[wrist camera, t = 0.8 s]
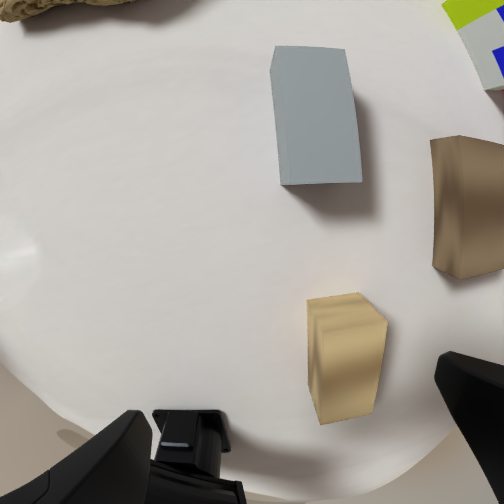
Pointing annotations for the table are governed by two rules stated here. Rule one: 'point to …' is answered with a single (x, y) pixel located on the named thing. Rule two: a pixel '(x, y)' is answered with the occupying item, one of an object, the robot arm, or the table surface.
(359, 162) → the grey block
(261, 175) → the table surface
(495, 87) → the puzzle toy
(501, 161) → the walnut block
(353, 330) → the oak block
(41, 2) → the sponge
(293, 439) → the table surface
